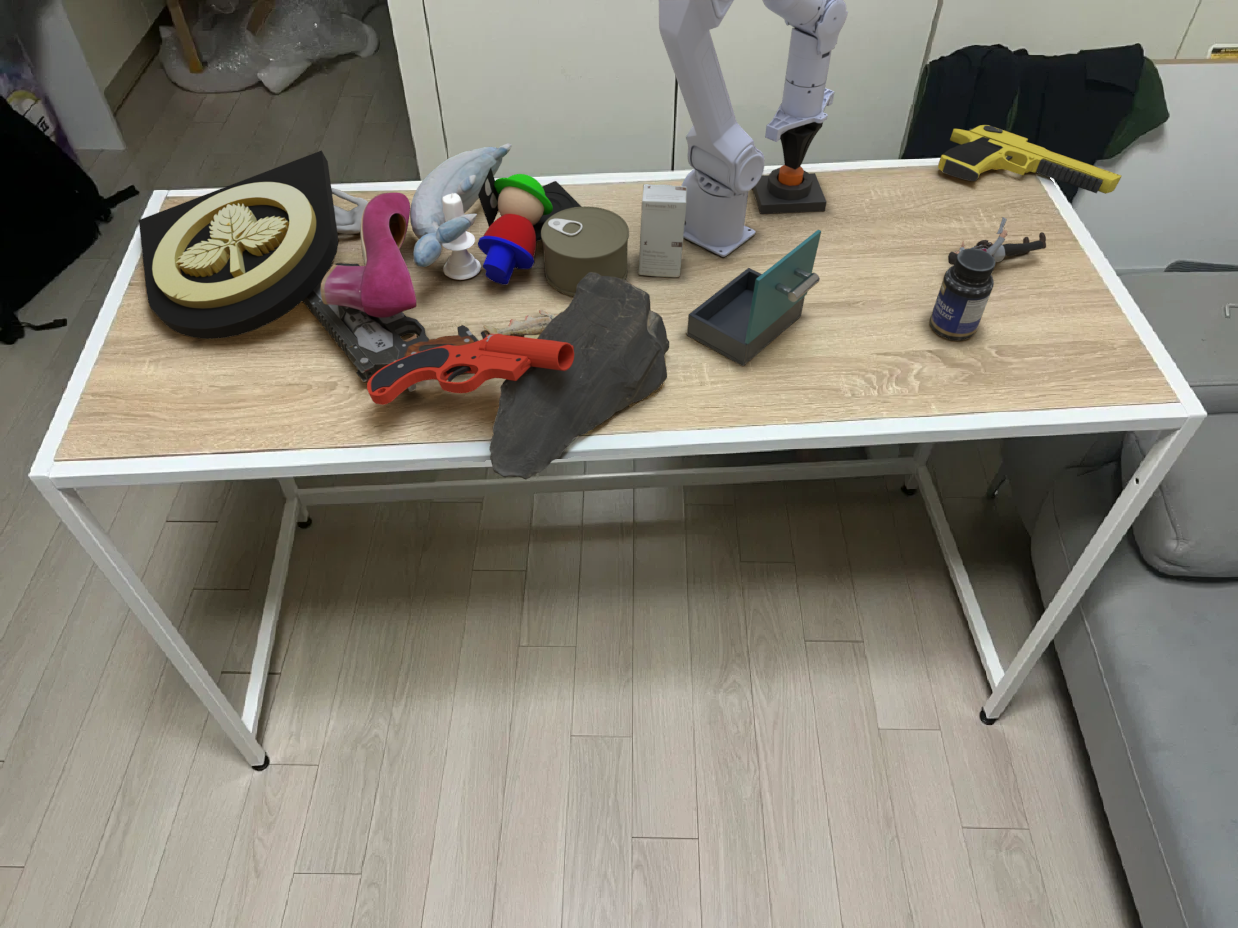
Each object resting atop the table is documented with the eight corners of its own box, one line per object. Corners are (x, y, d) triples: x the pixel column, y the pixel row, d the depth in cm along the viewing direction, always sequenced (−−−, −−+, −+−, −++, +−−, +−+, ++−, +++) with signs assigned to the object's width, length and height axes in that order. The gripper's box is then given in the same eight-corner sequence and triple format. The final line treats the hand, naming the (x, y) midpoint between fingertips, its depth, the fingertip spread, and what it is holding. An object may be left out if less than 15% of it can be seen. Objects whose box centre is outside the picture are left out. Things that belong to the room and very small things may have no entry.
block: (760, 214, 142) (762, 194, 139) (750, 185, 147) (753, 165, 144) (825, 211, 142) (828, 190, 139) (813, 182, 147) (817, 162, 145)
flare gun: (361, 406, 111) (440, 337, 119) (505, 435, 98) (582, 355, 107) (350, 385, 109) (431, 316, 118) (495, 411, 96) (574, 332, 105)
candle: (455, 253, 135) (443, 179, 126) (487, 262, 133) (478, 188, 124) (436, 274, 131) (422, 200, 122) (469, 284, 130) (458, 209, 121)
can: (605, 308, 127) (604, 266, 122) (528, 284, 130) (524, 242, 125) (642, 260, 134) (643, 219, 129) (568, 238, 137) (566, 197, 132)
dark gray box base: (686, 335, 123) (688, 314, 120) (745, 288, 130) (748, 267, 127) (743, 366, 119) (746, 345, 116) (801, 316, 126) (805, 295, 123)
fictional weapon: (389, 261, 135) (290, 296, 128) (386, 239, 132) (284, 274, 126) (490, 367, 120) (384, 412, 113) (488, 345, 117) (379, 390, 111)
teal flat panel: (755, 278, 109) (781, 292, 107) (818, 229, 115) (843, 241, 114) (744, 342, 116) (768, 356, 115) (804, 292, 123) (827, 305, 121)
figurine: (263, 247, 140) (392, 254, 139) (245, 235, 135) (380, 243, 133) (269, 183, 141) (398, 190, 139) (252, 169, 135) (386, 176, 134)
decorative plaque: (132, 353, 117) (128, 206, 134) (152, 374, 121) (147, 228, 138) (343, 274, 118) (314, 137, 134) (358, 297, 121) (327, 161, 138)
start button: (780, 187, 141) (782, 176, 140) (776, 174, 143) (777, 163, 142) (804, 186, 141) (806, 175, 140) (799, 173, 143) (800, 162, 142)
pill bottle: (920, 317, 125) (941, 249, 117) (960, 308, 127) (984, 240, 118) (944, 346, 122) (967, 277, 113) (985, 337, 123) (1011, 268, 115)
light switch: (496, 206, 136) (555, 179, 139) (501, 228, 140) (559, 202, 142) (528, 241, 131) (589, 213, 133) (533, 264, 134) (592, 236, 137)
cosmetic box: (638, 276, 131) (639, 201, 122) (639, 257, 134) (641, 182, 125) (681, 278, 131) (686, 203, 122) (682, 259, 134) (687, 184, 125)
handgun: (1097, 209, 137) (1126, 167, 145) (930, 149, 147) (967, 112, 155) (1087, 229, 139) (1117, 186, 148) (924, 169, 149) (960, 132, 157)
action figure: (1055, 208, 129) (966, 222, 124) (1062, 257, 129) (974, 273, 125) (1008, 222, 137) (923, 237, 133) (1015, 269, 138) (931, 284, 134)
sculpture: (537, 212, 120) (525, 157, 141) (500, 165, 116) (494, 115, 137) (429, 291, 124) (433, 226, 145) (390, 248, 120) (400, 187, 141)
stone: (568, 286, 122) (431, 450, 108) (611, 247, 112) (465, 423, 98) (655, 368, 126) (533, 537, 112) (705, 338, 115) (576, 520, 101)
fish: (567, 302, 125) (578, 329, 122) (568, 310, 126) (578, 338, 124) (482, 320, 123) (490, 348, 120) (483, 328, 124) (491, 357, 122)
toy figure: (464, 276, 132) (501, 184, 135) (527, 297, 132) (563, 204, 135) (455, 249, 123) (495, 151, 126) (522, 271, 123) (560, 173, 126)
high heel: (386, 177, 132) (470, 186, 131) (393, 234, 137) (474, 243, 136) (309, 258, 112) (408, 270, 111) (321, 321, 118) (415, 333, 116)
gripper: (800, 106, 125) (787, 195, 135) (858, 68, 132) (841, 155, 142) (757, 89, 128) (747, 178, 138) (816, 53, 135) (802, 139, 145)
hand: (792, 165), depth 140 cm, fingers closed
